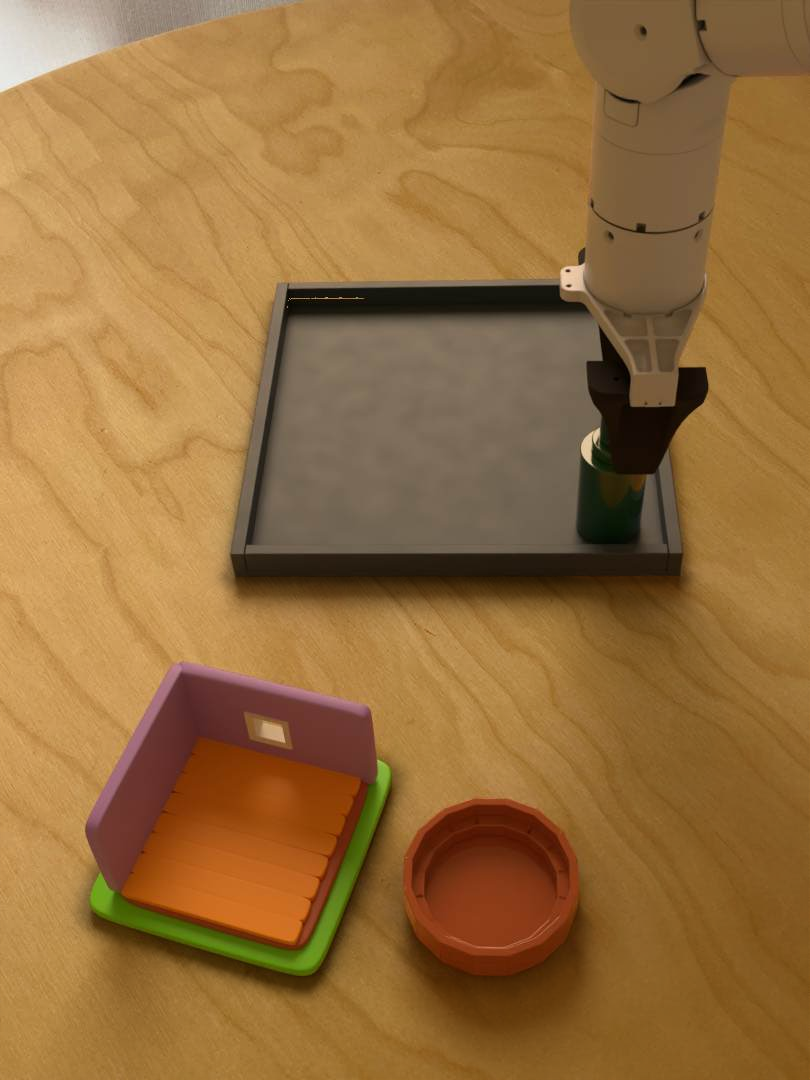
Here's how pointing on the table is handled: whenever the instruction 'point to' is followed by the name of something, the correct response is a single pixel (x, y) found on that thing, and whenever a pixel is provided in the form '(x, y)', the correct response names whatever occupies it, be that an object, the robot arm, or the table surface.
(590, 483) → the bottle
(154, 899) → the miniature room corner
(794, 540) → the table surface
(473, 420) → the tray
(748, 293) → the table surface
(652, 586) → the table surface
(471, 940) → the dish
